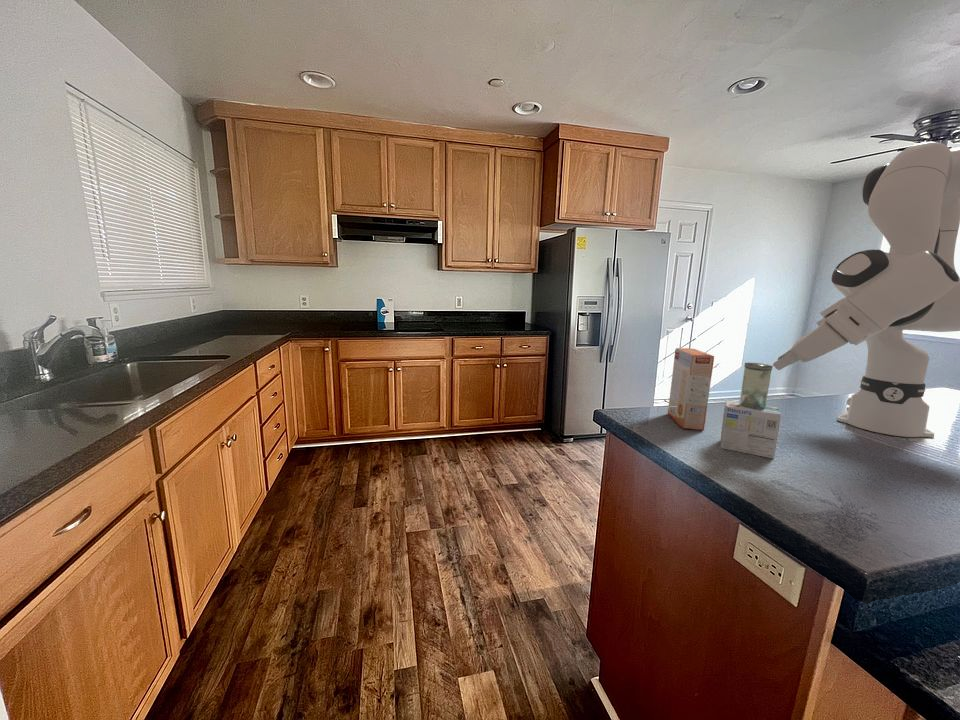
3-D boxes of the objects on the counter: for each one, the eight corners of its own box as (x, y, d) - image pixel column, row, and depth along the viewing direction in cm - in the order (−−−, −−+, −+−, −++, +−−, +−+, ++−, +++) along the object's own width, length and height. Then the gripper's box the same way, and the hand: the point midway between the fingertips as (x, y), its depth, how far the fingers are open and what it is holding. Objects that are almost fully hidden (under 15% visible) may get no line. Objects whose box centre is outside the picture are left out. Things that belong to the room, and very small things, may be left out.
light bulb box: (771, 449, 89) (779, 406, 88) (775, 459, 84) (782, 414, 82) (719, 439, 95) (725, 399, 93) (719, 448, 90) (725, 405, 88)
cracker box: (705, 431, 101) (715, 355, 97) (681, 429, 102) (690, 354, 98) (688, 415, 114) (696, 348, 111) (666, 413, 115) (674, 347, 112)
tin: (740, 401, 91) (746, 361, 89) (767, 406, 88) (773, 364, 86) (736, 406, 87) (743, 364, 86) (764, 411, 84) (771, 367, 82)
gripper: (833, 310, 84) (772, 348, 92) (833, 313, 69) (760, 358, 77) (857, 331, 82) (792, 368, 90) (863, 339, 67) (784, 383, 75)
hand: (777, 364), depth 84 cm, fingers open, 8 cm apart
